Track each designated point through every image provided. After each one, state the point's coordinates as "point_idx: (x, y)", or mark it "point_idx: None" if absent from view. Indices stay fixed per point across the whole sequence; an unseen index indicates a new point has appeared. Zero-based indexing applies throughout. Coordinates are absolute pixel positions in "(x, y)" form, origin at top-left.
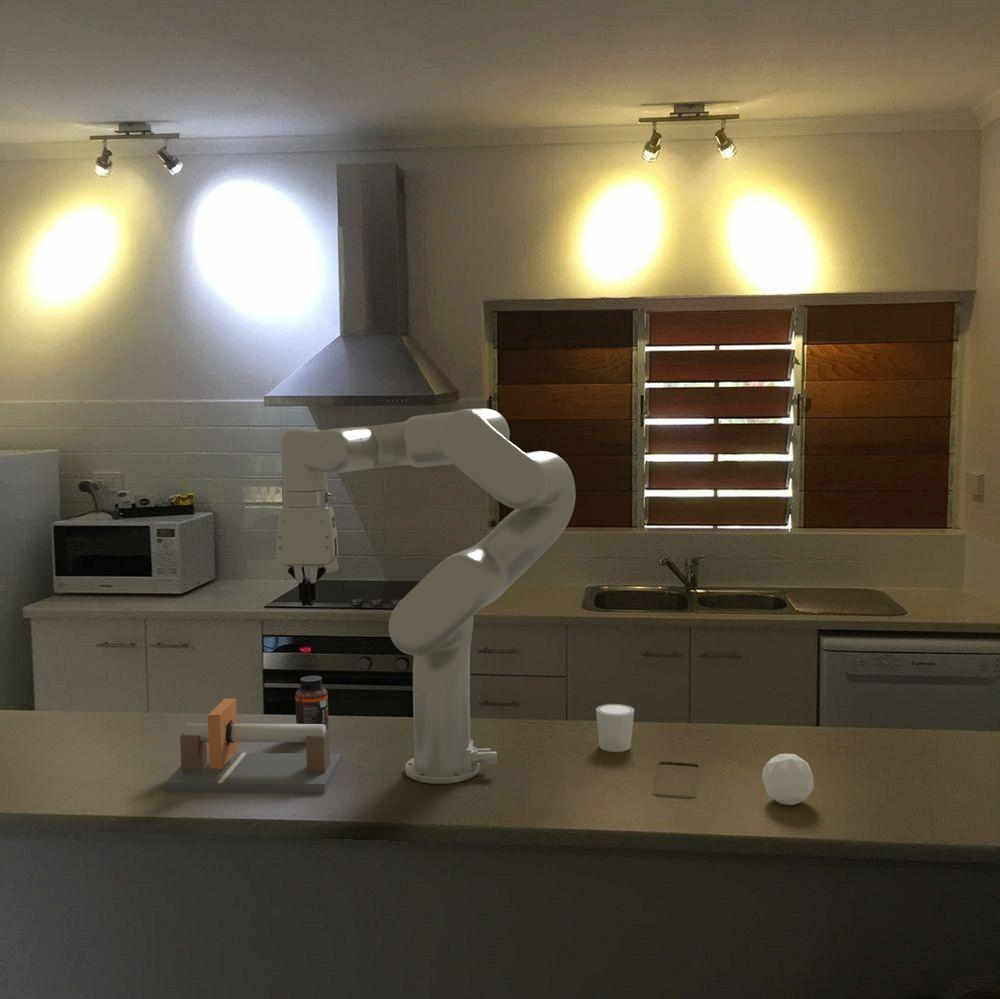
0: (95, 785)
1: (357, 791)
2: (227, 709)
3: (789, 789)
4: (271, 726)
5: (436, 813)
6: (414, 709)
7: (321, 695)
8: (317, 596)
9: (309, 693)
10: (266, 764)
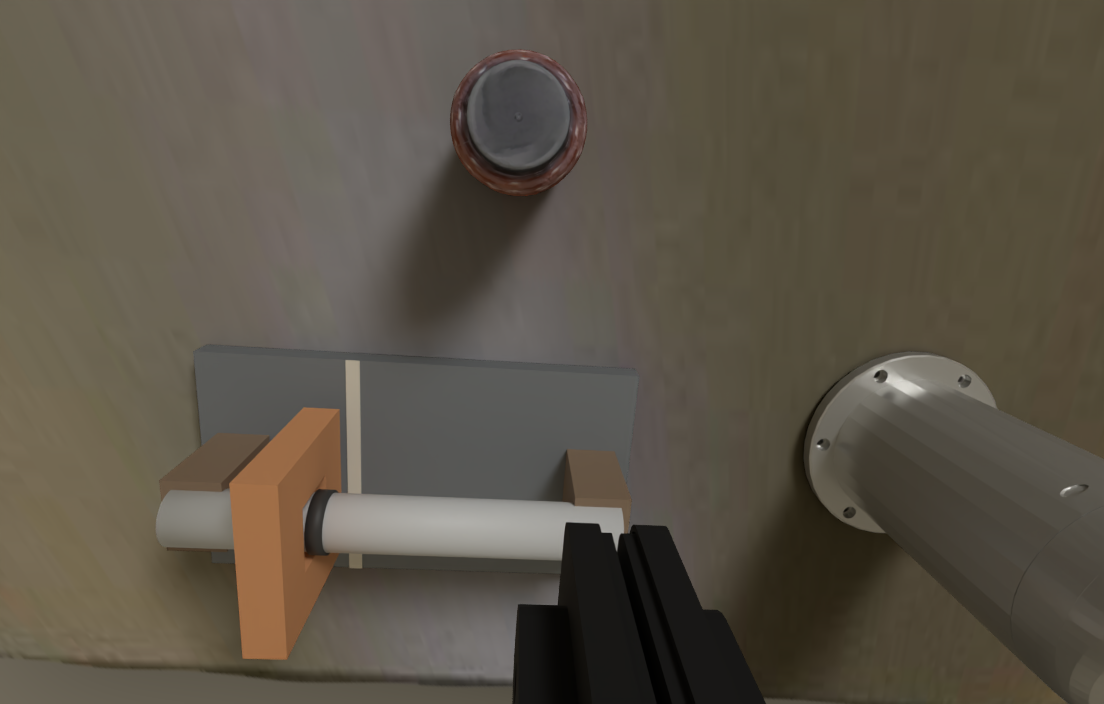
0: (17, 507)
1: (686, 552)
2: (285, 580)
3: None
4: (455, 552)
5: (851, 657)
6: (940, 567)
7: (568, 170)
8: (721, 623)
9: (520, 184)
10: (441, 449)
